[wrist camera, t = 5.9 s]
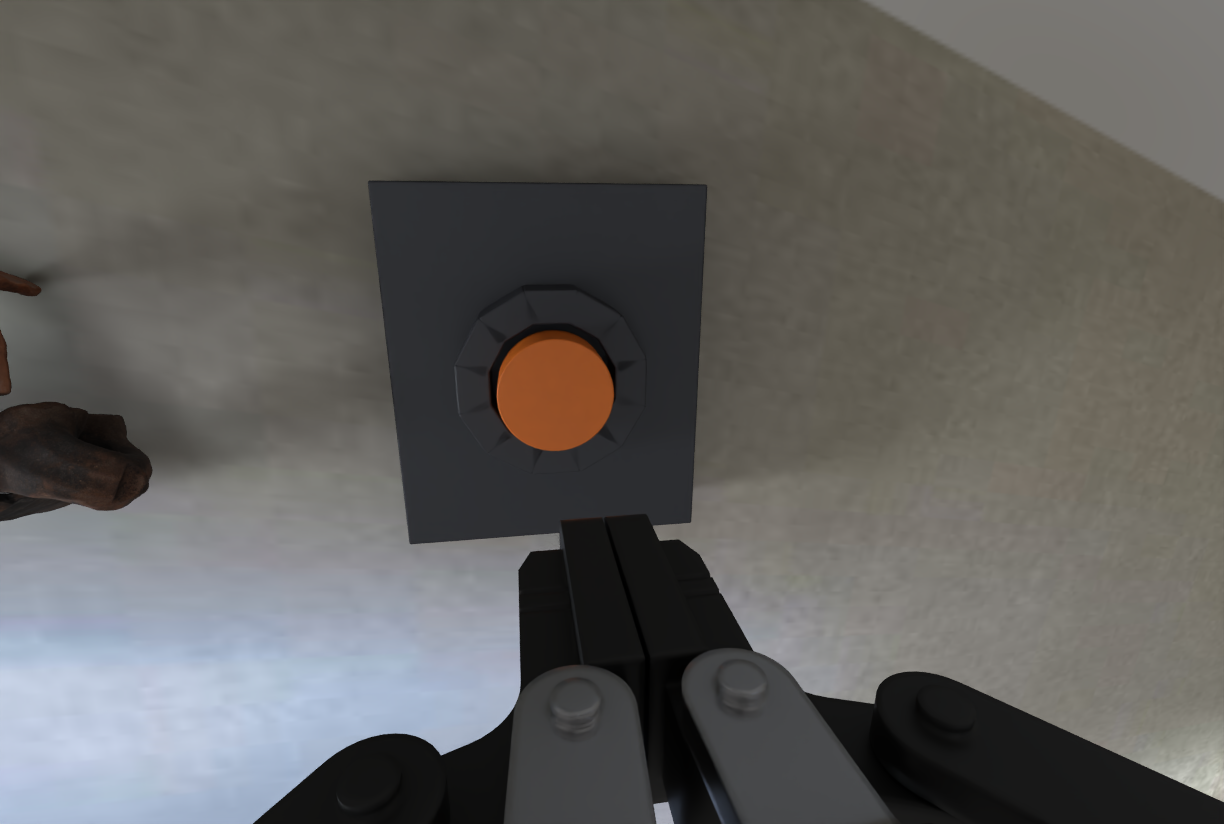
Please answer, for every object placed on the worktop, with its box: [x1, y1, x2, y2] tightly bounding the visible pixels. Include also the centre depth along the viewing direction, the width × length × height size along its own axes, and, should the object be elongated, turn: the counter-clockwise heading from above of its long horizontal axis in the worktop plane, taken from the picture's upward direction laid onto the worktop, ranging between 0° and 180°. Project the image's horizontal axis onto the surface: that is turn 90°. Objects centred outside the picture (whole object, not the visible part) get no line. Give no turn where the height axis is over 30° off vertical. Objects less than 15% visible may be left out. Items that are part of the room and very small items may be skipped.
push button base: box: [368, 181, 707, 544], centre depth 24 cm, size 14×12×5 cm
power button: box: [497, 330, 614, 451], centre depth 21 cm, size 4×4×2 cm
